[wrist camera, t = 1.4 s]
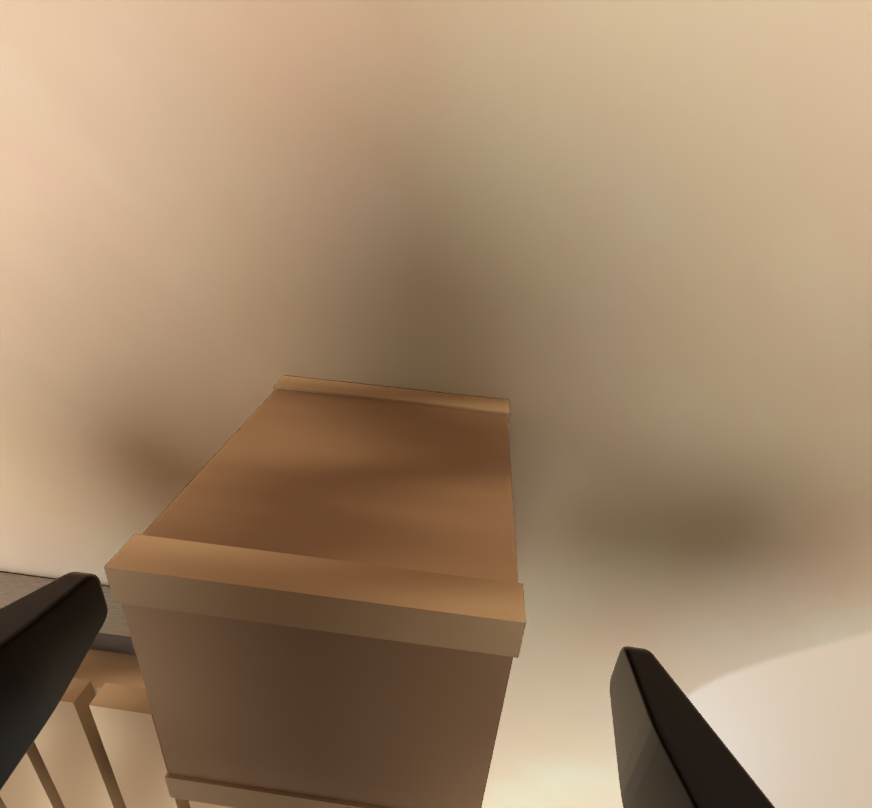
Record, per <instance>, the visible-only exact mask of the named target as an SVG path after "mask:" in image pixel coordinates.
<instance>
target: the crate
mask: <svg viewBox="0 0 872 808" xmlns="http://www.w3.org/2000/svg"><path fill="white" fill-rule="evenodd" d="M509 415H510V406H509V400H504V399H495V398H486V397H477V396H468V395H458V394H449V393H440V392H431V391H422V390H413V389H404V388H394V387H385V386H376V385H367V384H358V383H349V382H340V381H330V380H321V379H312V378H303V377H294V376H285V375H284V376H283V377H282V378H281V379H280V380H279V381H278V383H277V384H276V385H275V386H274V392H273V393H272V394H271V395H270V396H269V397H268V398H267V399H266V400H265V402H264V403H263V404H262V405H261V406H260V407H259V408H258V409H257V410H256V411H255V412H254V414H253V415H252V416H251V417H250V418H249V419H248V420H247V421H246V422H245V423H244V424H243V425H242V427H241V428H240V429H239V430H238V431H237V432H236V433H235V434H234V435H233V436H232V437H231V439H230V440H229V441H228V442H227V443H226V444H225V445H224V446H223V447H222V448H221V449H220V450H219V452H218V453H217V454H216V455H215V456H214V457H213V458H212V459H211V460H210V461H209V462H208V464H207V465H206V466H205V467H204V468H203V469H202V470H201V471H200V472H199V473H198V474H197V475H196V477H195V478H194V479H193V480H192V481H191V482H190V483H189V484H188V485H187V486H186V487H185V489H184V490H183V491H182V492H181V493H180V494H179V495H178V496H177V497H176V498H175V499H174V500H173V502H172V503H171V504H170V505H169V506H168V507H167V508H166V509H165V510H164V511H163V512H162V514H161V515H160V516H159V517H158V518H157V519H156V520H155V521H154V522H153V523H152V524H151V525H150V527H149V528H148V529H147V530H146V531H145V532H144V533H143V534H142V535H138V534H135V535H134V536H133V537H132V538H131V539H130V540H129V541H128V542H127V543H126V544H125V545H124V546H123V547H122V549H121V550H120V551H119V552H118V553H117V554H116V555H115V556H114V557H113V558H112V559H111V560H110V561H109V562H108V563H107V565H106V566H105V567H104V568H105V572H106V575H107V579H108V582H109V586H110V589H111V593H112V596H113V600H114V603H121V604H122V606H123V610H124V614H125V617H126V621H127V624H128V628H129V632H130V635H131V639H132V642H133V646H134V649H135V653H136V657H137V660H138V664H139V667H140V671H141V674H142V678H143V682H144V685H145V689H146V692H147V696H148V700H149V703H150V707H151V710H152V714H153V717H154V721H155V725H156V728H157V732H158V735H159V739H160V743H161V746H162V750H163V753H164V757H165V760H166V764H167V768H168V772H167V773H166V775H165V780H166V784H167V787H168V791H169V794H170V798H176V799H182V800H189V801H195V802H202V803H208V804H214V805H221V806H227V807H234V808H482V801H483V796H484V792H485V787H486V782H487V778H488V773H489V768H490V763H491V759H492V754H493V749H494V745H495V740H496V735H497V730H498V726H499V721H500V716H501V712H502V707H503V702H504V697H505V693H506V688H507V683H508V679H509V674H510V669H511V664H512V660H513V657H517V658H518V656H519V651H520V647H521V642H522V638H523V633H524V628H525V624H526V620H525V607H524V593H523V584H520V583H518V575H517V559H516V543H515V528H514V512H513V496H512V480H511V465H510V449H509V433H508V422H509Z"/></svg>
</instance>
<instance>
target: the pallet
mask: <svg viewBox="0 0 872 808" xmlns="http://www.w3.org/2000/svg"><path fill="white" fill-rule="evenodd" d="M167 772H168V768H167V764H166V760H165V757H164V753H163V750H162V746H161V743H160V739H159V735H158V732H157V728H156V725H155V721H154V717H153V714H152V710H151V707H150V703H149V700H148V696H147V692H146V689H145V685H144V682H143V678H142V674H141V671H140V667H139V664H138V660H137V657H136V656H135V655H128V654H121V653H114V652H107V651H100V650H93V649H89V651H88V653H87V654H86V656H85V658H84V660H83V662H82V663H81V665H80V667H79V669H78V670H77V672H76V674H75V676H74V678H73V679H72V681H71V683H70V685H69V686H68V688H67V690H66V692H65V694H64V695H63V697H62V699H61V700H60V702H59V704H58V705H57V707H56V709H55V710H54V712H53V714H52V715H51V717H50V718H49V720H48V721H47V723H46V724H45V726H44V727H43V729H42V730H41V732H40V733H39V735H38V736H37V738H36V739H35V741H34V742H33V744H32V745H31V746H30V748H29V749H28V751H27V752H26V754H25V755H24V757H23V758H22V760H21V761H20V763H19V764H18V766H17V767H16V769H15V770H14V771H13V773H12V774H11V776H10V777H9V779H8V780H7V782H6V783H5V785H4V786H3V788H2V789H1V791H0V808H234V807H227V806H221V805H214V804H208V803H202V802H195V801H189V800H182V799H176V798H170V794H169V791H168V787H167V784H166V780H165V775H166V773H167Z"/></svg>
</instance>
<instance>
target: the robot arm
mask: <svg viewBox="0 0 872 808" xmlns="http://www.w3.org/2000/svg"><path fill="white" fill-rule="evenodd" d="M107 612H108V606H107V603H106V599H105V596H104V593H103V589H102V586H101V583H100V580H99V578H98V577H97V576H96V575H94V574H89V573H81V572H71V573H68V574H66V575H64V576H62V577H60V578H58V579H56V580H54V581H52V582H50V583H48V584H46V585H44V586H43V587H41V588H39V589H37V590H35V591H33V592H31V593H29V594H27V595H25V596H23V597H21V598H20V599H18V600H16V601H14V602H12V603H10V604H8V605H6V606H4V607H2V608H0V791H1V789H2V788H3V786H4V785H5V783H6V782H7V780H8V779H9V777H10V776H11V774H12V773H13V771H14V770H15V769H16V767H17V766H18V764H19V763H20V761H21V760H22V758H23V757H24V755H25V754H26V752H27V751H28V749H29V748H30V746H31V745H32V744H33V742H34V741H35V739H36V738H37V736H38V735H39V733H40V732H41V730H42V729H43V727H44V726H45V724H46V723H47V721H48V720H49V718H50V717H51V715H52V714H53V712H54V710H55V709H56V707H57V705H58V704H59V702H60V700H61V699H62V697H63V695H64V694H65V692H66V690H67V688H68V686H69V685H70V683H71V681H72V679H73V678H74V676H75V674H76V672H77V670H78V669H79V667H80V665H81V663H82V662H83V660H84V658H85V656H86V654H87V653H88V651H89V649H90V647H91V645H92V644H93V642H94V640H95V638H96V637H97V635H98V633H99V631H100V629H101V628H102V626H103V624H104V622H105V620H106V617H107ZM610 698H611V707H612V716H613V726H614V735H615V744H616V754H617V763H618V772H619V781H620V789H621V797H622V803H623V808H775V807H774V806H773V805H772V803H771V802H770V801H769V800H768V798H767V797H766V796H765V795H764V794H763V792H762V791H761V790H760V788H759V787H758V786H757V785H756V784H755V782H754V781H753V780H752V778H751V777H750V776H749V774H748V773H747V772H746V771H745V769H744V768H743V767H742V766H741V764H740V763H739V762H738V761H737V759H736V758H735V757H734V756H733V754H732V753H731V752H730V751H729V749H728V748H727V747H726V746H725V744H724V743H723V742H722V741H721V739H720V738H719V737H718V736H717V734H716V733H715V732H714V731H713V729H712V728H711V727H710V726H709V724H708V723H707V722H706V720H705V719H704V718H703V717H702V715H701V714H700V713H699V712H698V710H697V709H696V708H695V707H694V705H693V704H692V703H691V702H690V700H689V699H688V698H687V697H686V695H685V694H684V693H683V692H682V690H681V689H680V688H679V686H678V685H677V684H676V683H675V681H674V680H673V679H672V678H671V676H670V675H669V674H668V673H667V671H666V670H665V669H664V668H663V666H662V665H661V664H660V663H659V661H658V660H657V659H656V658H655V656H654V655H653V654H652V653H651V652H650V651H648V650H646V649H642V648H634V647H623V648H622V649H621V651H620V653H619V656H618V659H617V662H616V665H615V668H614V671H613V673H612V676H611V681H610Z"/></svg>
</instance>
